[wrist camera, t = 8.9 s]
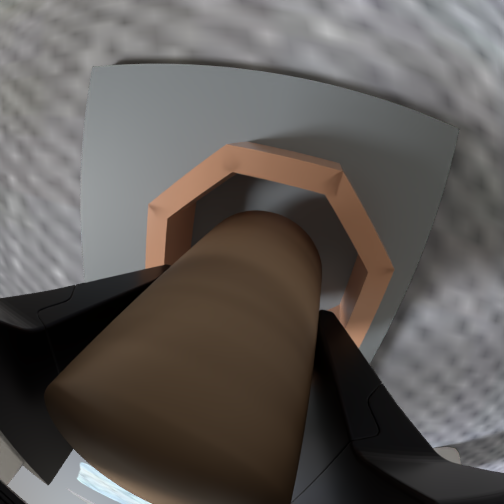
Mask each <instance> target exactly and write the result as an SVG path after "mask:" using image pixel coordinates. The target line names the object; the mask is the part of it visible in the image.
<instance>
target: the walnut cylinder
mask: <svg viewBox="0 0 504 504" xmlns="http://www.w3.org/2000/svg"><path fill="white" fill-rule="evenodd" d="M321 282H322V264H321V259H320V255H319V252H318V250H317V248H316V246H315V244H314V242H313V241H312V239H311V238H310V236H309V235H308V234H307V233H306V232H305V231H304V230H303V229H302V228H301V227H300V226H299V225H298V224H296V223H295V222H293V221H292V220H290V219H288V218H286V217H284V216H282V215H279V214H276V213H273V212H268V211H260V210H252V211H244V212H240V213H237V214H234V215H231V216H230V217H228V218H226V219H224V220H223V221H222V222H220V223H219V224H218V225H217V226H215V227H214V228H213V229H212V230H211V231H210V232H209V233H207V234H206V235H205V236H204V237H203V238H202V239H201V240H199V241H198V242H197V243H196V244H195V245H194V246H193V247H192V248H191V249H189V250H188V251H187V252H186V253H185V254H184V255H183V256H182V257H180V258H179V259H178V260H177V261H176V262H175V263H174V264H173V265H172V266H171V267H169V268H168V269H167V270H166V271H165V272H164V273H163V274H162V275H161V276H160V277H159V278H157V279H156V280H155V281H154V282H153V283H152V284H151V285H150V286H149V287H148V288H147V289H146V290H145V291H144V292H142V293H141V294H140V295H139V296H138V297H137V298H136V299H135V300H134V301H133V302H132V303H131V304H130V305H129V306H128V307H127V308H126V309H124V310H123V311H122V312H121V313H120V314H119V315H118V316H117V317H116V318H115V319H114V320H113V321H112V322H111V323H110V324H109V325H108V326H107V327H106V328H105V329H104V330H103V331H102V332H101V333H100V334H99V335H98V336H97V337H96V338H95V339H94V340H93V341H92V342H91V343H90V344H89V345H87V346H86V347H85V348H84V349H83V350H82V351H81V352H80V353H79V355H78V356H77V357H76V358H75V359H74V360H73V361H72V362H71V363H70V364H69V365H68V366H67V367H66V368H65V369H64V370H63V371H62V372H61V373H60V374H59V375H58V376H57V377H56V378H55V379H54V380H53V381H52V382H51V383H50V384H49V385H48V386H47V388H46V390H45V393H44V401H45V405H46V408H47V411H48V413H49V416H50V418H51V419H52V421H53V423H54V424H55V426H56V428H57V429H58V430H59V432H60V433H61V435H62V436H63V437H64V438H65V440H66V441H67V442H68V443H69V444H70V445H71V446H72V447H73V449H74V450H75V451H76V452H77V453H78V454H79V455H81V457H83V458H84V459H85V460H86V461H87V462H88V463H89V464H90V465H92V466H93V467H94V468H95V469H96V470H98V471H99V472H100V473H102V474H103V475H104V476H106V477H107V478H108V479H110V480H111V481H113V482H114V483H116V484H117V485H119V486H120V487H122V488H124V489H125V490H127V491H129V492H131V493H132V494H134V495H136V496H138V497H140V498H142V499H144V500H146V501H148V502H150V503H152V504H291V500H292V495H293V491H294V486H295V481H296V476H297V471H298V465H299V460H300V454H301V449H302V443H303V437H304V431H305V424H306V418H307V411H308V404H309V397H310V390H311V382H312V375H313V366H314V358H315V349H316V339H317V330H318V319H319V308H320V295H321Z"/></svg>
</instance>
